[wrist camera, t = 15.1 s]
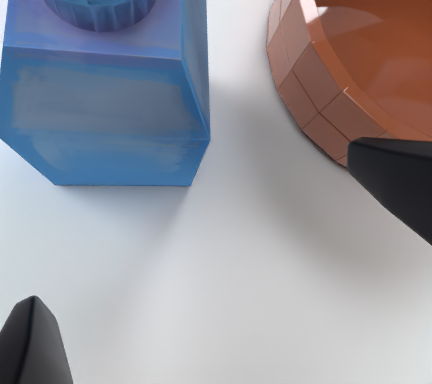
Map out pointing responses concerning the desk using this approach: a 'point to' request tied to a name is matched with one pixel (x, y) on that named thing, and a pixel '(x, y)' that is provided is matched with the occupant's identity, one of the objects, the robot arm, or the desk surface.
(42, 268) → the desk surface
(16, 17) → the perfume bottle
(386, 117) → the bowl
